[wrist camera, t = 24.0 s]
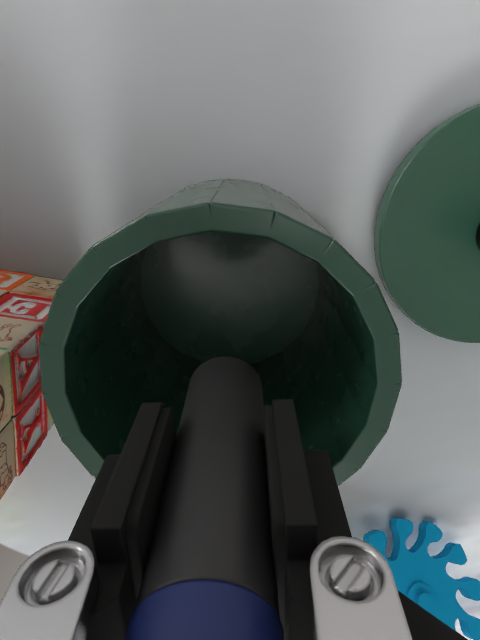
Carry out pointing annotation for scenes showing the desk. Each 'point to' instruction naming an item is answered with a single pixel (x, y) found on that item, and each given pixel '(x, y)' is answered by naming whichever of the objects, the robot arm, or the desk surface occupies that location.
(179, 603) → the cylinder
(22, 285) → the stack of blocks
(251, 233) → the green hollow cylinder
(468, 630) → the gear
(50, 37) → the desk surface
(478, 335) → the lid
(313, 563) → the robot arm
